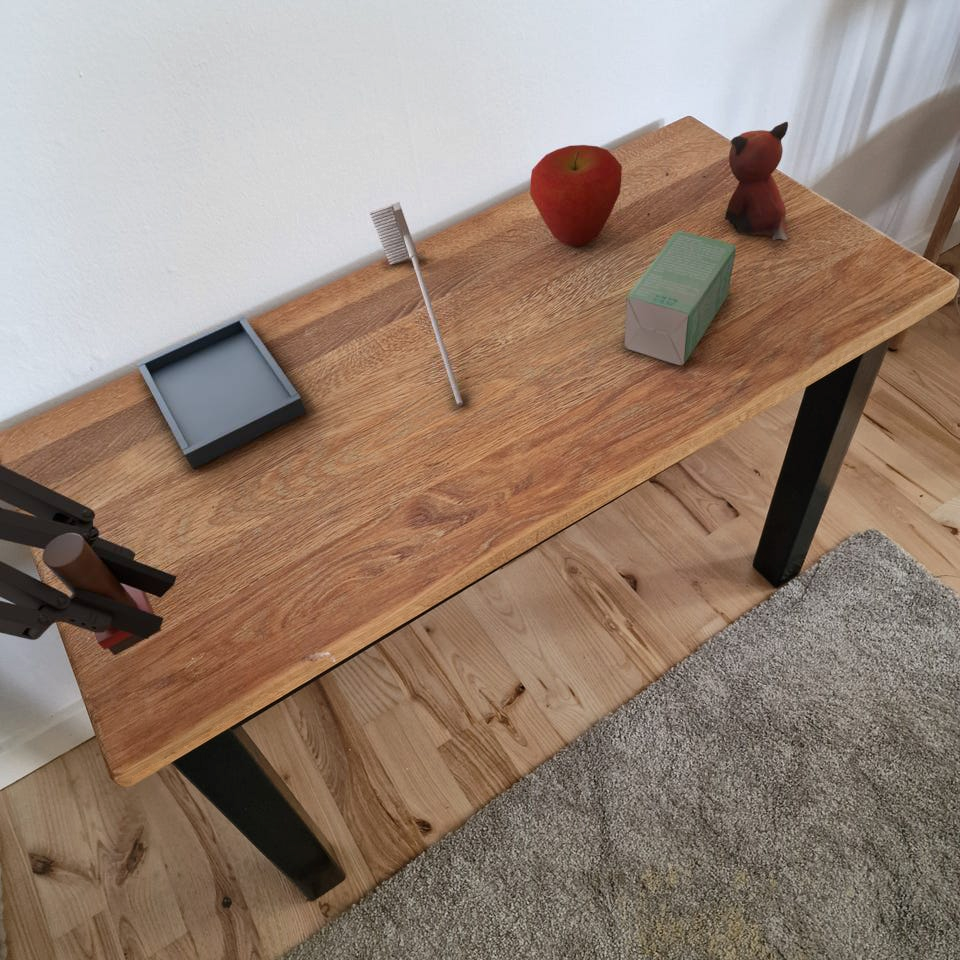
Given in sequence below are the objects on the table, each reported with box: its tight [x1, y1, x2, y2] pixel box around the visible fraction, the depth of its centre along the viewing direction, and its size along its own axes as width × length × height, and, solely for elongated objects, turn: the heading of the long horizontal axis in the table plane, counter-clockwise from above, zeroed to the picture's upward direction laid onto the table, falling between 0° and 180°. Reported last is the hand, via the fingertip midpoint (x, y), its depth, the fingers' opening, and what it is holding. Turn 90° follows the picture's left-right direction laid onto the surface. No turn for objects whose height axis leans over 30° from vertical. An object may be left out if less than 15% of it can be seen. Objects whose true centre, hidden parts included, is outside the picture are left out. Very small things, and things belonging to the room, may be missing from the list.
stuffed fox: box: [724, 121, 789, 242], centre depth 99 cm, size 8×11×12 cm
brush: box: [369, 201, 464, 407], centre depth 96 cm, size 4×28×9 cm, turn 13°
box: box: [623, 230, 737, 366], centre depth 92 cm, size 7×14×8 cm, turn 149°
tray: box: [136, 314, 307, 469], centre depth 94 cm, size 18×14×2 cm
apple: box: [529, 144, 623, 248], centre depth 102 cm, size 11×11×12 cm
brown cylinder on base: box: [42, 533, 162, 656], centre depth 65 cm, size 8×4×12 cm, turn 32°
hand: (161, 607), depth 65 cm, fingers closed on brown cylinder on base, 3 cm apart
